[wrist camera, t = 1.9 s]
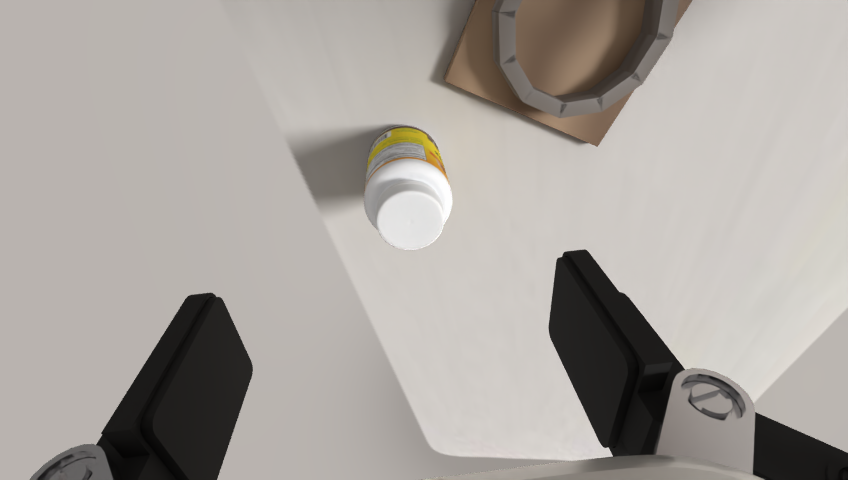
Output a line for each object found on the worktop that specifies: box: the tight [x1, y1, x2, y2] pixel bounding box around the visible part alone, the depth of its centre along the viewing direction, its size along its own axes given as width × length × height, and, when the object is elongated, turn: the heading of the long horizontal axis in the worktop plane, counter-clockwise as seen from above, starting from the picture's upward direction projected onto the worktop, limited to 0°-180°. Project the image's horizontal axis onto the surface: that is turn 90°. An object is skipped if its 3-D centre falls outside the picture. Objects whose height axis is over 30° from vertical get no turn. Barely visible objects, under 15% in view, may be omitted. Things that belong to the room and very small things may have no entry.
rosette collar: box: [444, 0, 692, 147], centre depth 26 cm, size 13×13×3 cm
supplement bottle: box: [364, 125, 452, 250], centre depth 27 cm, size 6×6×10 cm
